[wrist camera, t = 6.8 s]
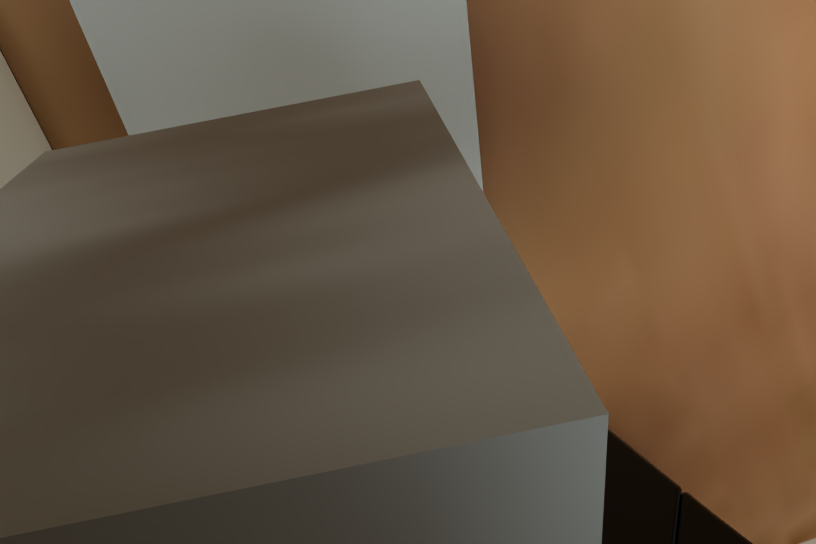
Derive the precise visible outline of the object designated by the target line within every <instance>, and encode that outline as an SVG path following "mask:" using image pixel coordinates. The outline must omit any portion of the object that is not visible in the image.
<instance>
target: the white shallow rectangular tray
mask: <svg viewBox="0 0 816 544" xmlns="http://www.w3.org/2000/svg"><path fill="white" fill-rule="evenodd" d="M51 150H52V149H51V147H50V145H49V143H48V141H47V139H46V137H45V135H44V133H43V132H42V130H41V128H40V126H39V124H38V122H37V120H36V118H35V116H34V114H33V112H32V110H31V109H30V107H29V105H28V103H27V101H26V99H25V97H24V95H23V93H22V91H21V89H20V88H19V86H18V84H17V82H16V80H15V78H14V76H13V74H12V72H11V70H10V68H9V67H8V65H7V63H6V61H5V59H4V57H3V55H2V53H1V51H0V189H1V188H2V187H3V186H4V185H6V184H7V183H8V182H9V181H10V180H12V179H13V178H14V177H15V176H16V175H17V174H19V173H20V172H21V171H22V170H23V169H25V168H26V167H27V166H28V165H29V164H31V163H32V162H33V161H34V160H35V159H37V158H38V157H39V156H40V155H41V154H43V153H44V152H46V151H51Z"/></svg>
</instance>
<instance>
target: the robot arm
mask: <svg viewBox="0 0 816 544" xmlns="http://www.w3.org/2000/svg"><path fill="white" fill-rule="evenodd" d="M681 494H682V495H681ZM602 544H752V543H751V542H750V541H749V540H747V539H746V538H745V537H743V536H742V535H741V534H739V533H738V532H737V531H736V530H734V529H733V528H732V527H730V526H729V525H728V524H726V523H725V522H724V521H723V520H721V519H720V518H719V517H717V516H716V515H715V514H713V513H712V512H711V511H710V510H708V509H707V508H706V507H705V506H704V505H702V504H701V503H700V502H699V501H697V500H696V499H695V498H694V497H692V496H691V495H690V494H689V493H687V492H684V493H682V489H681V487H680V486H678V485H677V484H676V483H675V482H673V481H672V480H671V479H670V478H669V477H667V476H666V475H665V474H664V473H662V472H661V471H660V470H659V469H657V468H656V467H655V466H654V465H652V464H651V463H650V462H649V461H647V460H646V459H645V458H644V457H642V456H641V455H640V454H639V453H638V452H636V451H635V450H634V449H633V448H631V447H630V446H629V445H628V444H626V443H625V442H624V441H623V440H621V439H620V438H619V437H618V436H616V435H615V434H614V433H613V432H612V431H610V430H609V429H608V436H607V454H606V473H605V491H604V509H603V528H602Z"/></svg>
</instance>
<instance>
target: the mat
mask: <svg viewBox="0 0 816 544" xmlns="http://www.w3.org/2000/svg"><path fill="white" fill-rule="evenodd" d="M69 1H70V3H71V6H72V8H73V10H74V12H75V15H76V17H77V19H78V22H79V24H80V26H81V28H82V31H83V33H84V35H85V37H86V40H87V42H88V44H89V47H90V49H91V51H92V53H93V56H94V58H95V60H96V62H97V65H98V67H99V69H100V72H101V74H102V76H103V78H104V81H105V83H106V85H107V88H108V90H109V92H110V94H111V97H112V99H113V101H114V103H115V106H116V108H117V110H118V113H119V115H120V117H121V119H122V122H123V124H124V126H125V128H126V131H127V133H128V135H134V134H140V133H145V132H150V131H155V130H161V129H166V128H171V127H176V126H182V125H187V124H192V123H197V122H202V121H208V120H213V119H218V118H223V117H229V116H234V115H239V114H244V113H249V112H255V111H260V110H265V109H270V108H276V107H281V106H286V105H291V104H297V103H302V102H307V101H312V100H317V99H323V98H328V97H333V96H338V95H344V94H349V93H354V92H359V91H364V90H370V89H375V88H380V87H385V86H391V85H396V84H401V83H406V82H412V81H417V80H420V82H421V83H422V85H423V87H424V89H425V90H426V92H427V94H428V96H429V98H430V99H431V101H432V103H433V105H434V106H435V108H436V110H437V112H438V113H439V115H440V117H441V119H442V120H443V122H444V124H445V126H446V128H447V129H448V131H449V133H450V135H451V136H452V138H453V140H454V142H455V143H456V145H457V147H458V149H459V150H460V152H461V154H462V156H463V158H464V159H465V161H466V163H467V165H468V166H469V168H470V170H471V172H472V173H473V175H474V177H475V179H476V181H477V182H478V184H479V186H480V188H481V189H482V191H483V182H482V170H481V159H480V148H479V137H478V125H477V114H476V103H475V92H474V80H473V69H472V58H471V47H470V35H469V24H468V13H467V2H466V0H69Z"/></svg>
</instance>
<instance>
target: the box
mask: <svg viewBox="0 0 816 544" xmlns="http://www.w3.org/2000/svg"><path fill="white" fill-rule="evenodd" d="M608 418H609V414H608V412H607V410H606V408H605V407H604V405H603V403H602V401H601V399H600V398H599V396H598V394H597V392H596V391H595V389H594V387H593V385H592V384H591V382H590V380H589V378H588V377H587V375H586V373H585V371H584V369H583V368H582V366H581V364H580V362H579V361H578V359H577V357H576V355H575V354H574V352H573V350H572V348H571V346H570V345H569V343H568V341H567V339H566V338H565V336H564V334H563V332H562V331H561V329H560V327H559V325H558V324H557V322H556V320H555V318H554V316H553V315H552V313H551V311H550V309H549V308H548V306H547V304H546V302H545V301H544V299H543V297H542V295H541V294H540V292H539V290H538V288H537V286H536V285H535V283H534V281H533V279H532V278H531V276H530V274H529V272H528V271H527V269H526V267H525V265H524V264H523V262H522V260H521V258H520V256H519V255H518V253H517V251H516V249H515V248H514V246H513V244H512V242H511V241H510V239H509V237H508V235H507V233H506V232H505V230H504V228H503V226H502V225H501V223H500V221H499V219H498V218H497V216H496V214H495V212H494V211H493V209H492V207H491V205H490V203H489V202H488V200H487V198H486V196H485V195H484V193H483V191H482V189H481V188H480V186H479V184H478V182H477V181H476V179H475V177H474V175H473V173H472V172H471V170H470V168H469V166H468V165H467V163H466V161H465V159H464V158H463V156H462V154H461V152H460V150H459V149H458V147H457V145H456V143H455V142H454V140H453V138H452V136H451V135H450V133H449V131H448V129H447V128H446V126H445V124H444V122H443V120H442V119H441V117H440V115H439V113H438V112H437V110H436V108H435V106H434V105H433V103H432V101H431V99H430V98H429V96H428V94H427V92H426V90H425V89H424V87H423V85H422V83H421V82H420V80H417V81H412V82H406V83H401V84H396V85H391V86H385V87H380V88H375V89H370V90H364V91H359V92H354V93H349V94H344V95H338V96H333V97H328V98H323V99H317V100H312V101H307V102H302V103H297V104H291V105H286V106H281V107H276V108H270V109H265V110H260V111H255V112H249V113H244V114H239V115H234V116H229V117H223V118H218V119H213V120H208V121H202V122H197V123H192V124H187V125H182V126H176V127H171V128H166V129H161V130H155V131H150V132H145V133H140V134H134V135H129V136H124V137H119V138H114V139H108V140H103V141H98V142H93V143H87V144H82V145H77V146H72V147H66V148H61V149H56V150H51V151H46V152H44V153H43V154H41V155H40V156H39V157H38V158H37V159H35V160H34V161H33V162H32V163H31V164H29V165H28V166H27V167H26V168H25V169H23V170H22V171H21V172H20V173H19V174H17V175H16V176H15V177H14V178H13V179H12V180H10V181H9V182H8V183H7V184H6V185H4V186H3V187H2V188H1V189H0V544H602V528H603V509H604V491H605V473H606V454H607V436H608Z"/></svg>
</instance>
